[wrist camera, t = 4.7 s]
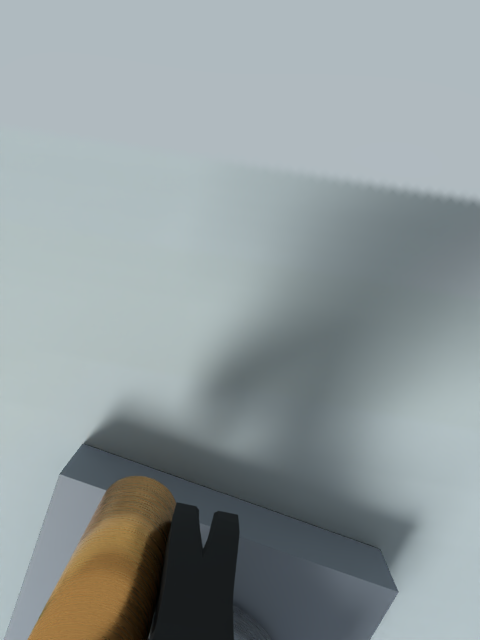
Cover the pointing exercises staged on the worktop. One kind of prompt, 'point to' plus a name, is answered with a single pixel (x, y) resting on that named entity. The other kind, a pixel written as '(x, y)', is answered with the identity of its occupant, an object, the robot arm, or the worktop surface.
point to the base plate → (252, 559)
